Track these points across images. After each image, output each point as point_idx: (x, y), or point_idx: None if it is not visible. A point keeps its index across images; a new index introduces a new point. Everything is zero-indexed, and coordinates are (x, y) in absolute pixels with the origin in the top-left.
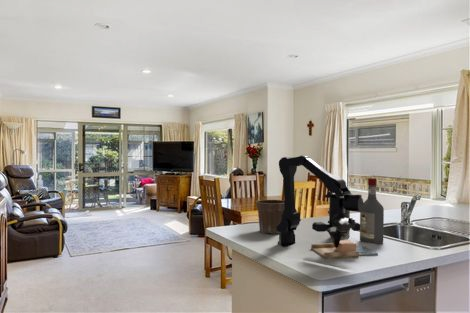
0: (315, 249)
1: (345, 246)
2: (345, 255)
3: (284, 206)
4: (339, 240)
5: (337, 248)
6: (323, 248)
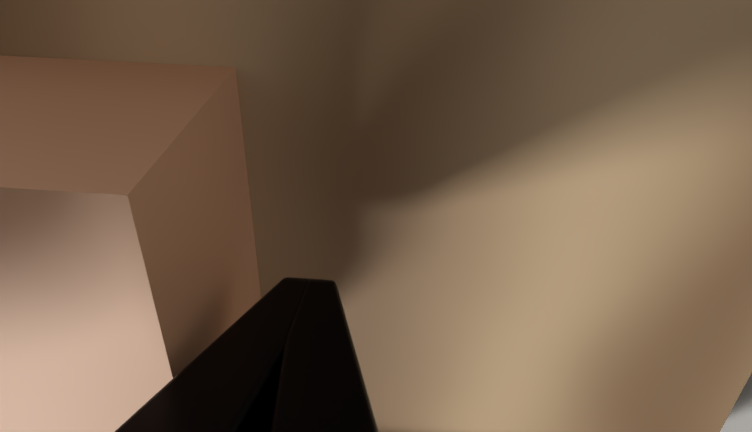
0: (703, 415)
1: (33, 146)
2: None
3: None
4: (148, 430)
5: None
6: (494, 429)
